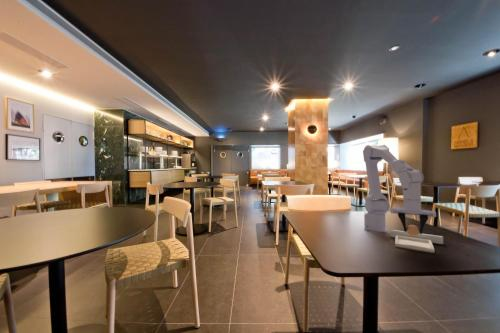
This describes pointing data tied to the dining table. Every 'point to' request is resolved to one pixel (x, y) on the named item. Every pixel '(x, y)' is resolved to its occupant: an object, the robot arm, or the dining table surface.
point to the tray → (414, 244)
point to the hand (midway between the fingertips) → (412, 232)
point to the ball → (412, 230)
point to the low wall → (419, 236)
